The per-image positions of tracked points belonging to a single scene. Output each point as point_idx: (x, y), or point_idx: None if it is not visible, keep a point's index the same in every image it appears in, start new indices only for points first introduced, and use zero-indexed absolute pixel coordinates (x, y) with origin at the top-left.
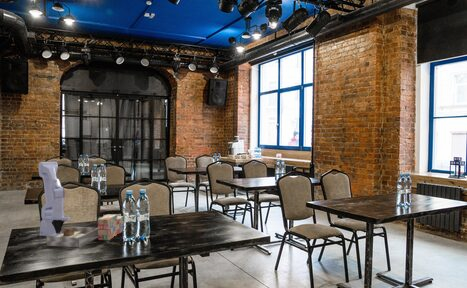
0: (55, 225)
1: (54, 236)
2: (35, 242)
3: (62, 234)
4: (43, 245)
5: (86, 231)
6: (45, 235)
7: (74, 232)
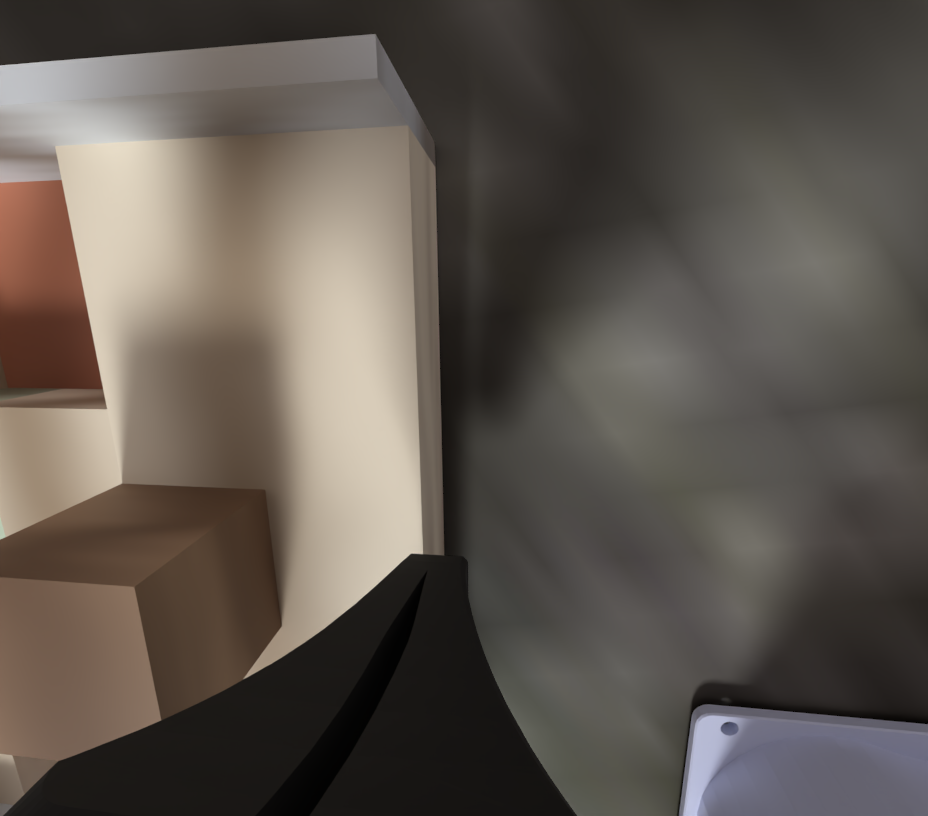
0: (382, 708)
1: (129, 83)
2: (830, 310)
3: None
4: (512, 137)
5: None
6: (872, 725)
7: None
